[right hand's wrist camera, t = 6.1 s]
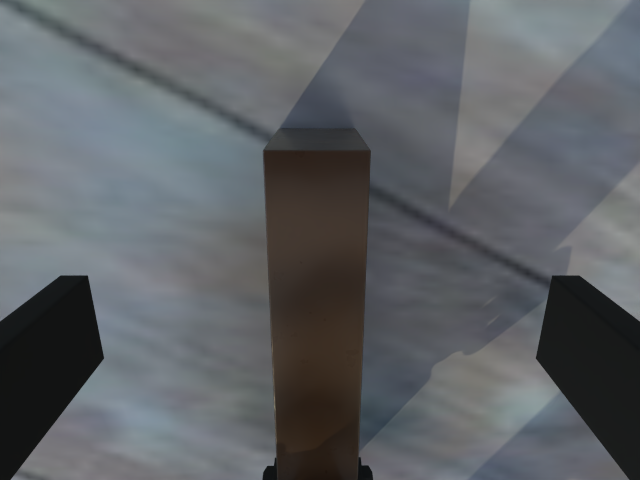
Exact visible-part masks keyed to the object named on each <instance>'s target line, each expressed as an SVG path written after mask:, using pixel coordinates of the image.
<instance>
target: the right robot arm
mask: <svg viewBox="0 0 640 480" xmlns="http://www.w3.org/2000/svg"><path fill="white" fill-rule="evenodd" d="M103 359H104V356H103V351H102V346H101V340H100V335H99V330H98V325H97V320H96V315H95V310H94V305H93V300H92V295H91V290H90V284H89V279H88V276H60V277H58V278H57V279H56V280H54V281H53V282H52V283H50V284H49V285H48V286H46V287H45V288H44V289H42V290H41V291H40V292H38V293H37V294H36V295H35V296H33V297H32V298H31V299H29V300H28V301H27V302H25V303H24V304H23V305H21V306H20V307H19V308H17V309H16V310H15V311H14V312H12V313H11V314H10V315H8V316H7V317H6V318H4V319H3V320H2V321H0V480H11V478H12V477H13V476H14V474H15V473H16V472H17V471H18V469H19V468H20V467H21V465H22V464H23V463H24V462H25V460H26V459H27V458H28V456H29V455H30V454H31V452H32V451H33V450H34V449H35V447H36V446H37V445H38V443H39V442H40V441H41V439H42V438H43V437H44V436H45V434H46V433H47V432H48V430H49V429H50V428H51V426H52V425H53V424H54V423H55V421H56V420H57V419H58V417H59V416H60V415H61V414H62V412H63V411H64V410H65V408H66V407H67V406H68V404H69V403H70V402H71V401H72V399H73V398H74V397H75V395H76V394H77V393H78V391H79V390H80V389H81V388H82V386H83V385H84V384H85V382H86V381H87V380H88V379H89V377H90V376H91V375H92V373H93V372H94V371H95V369H96V368H97V367H98V366H99V364H100V363H101V362H102V360H103ZM536 359H537V360H538V362H539V363H540V364H541V366H542V367H543V368H544V369H545V371H546V372H547V373H548V375H549V376H550V377H551V379H552V380H553V381H554V382H555V384H556V385H557V386H558V388H559V389H560V390H561V391H562V393H563V394H564V395H565V397H566V398H567V399H568V401H569V402H570V403H571V404H572V406H573V407H574V408H575V410H576V411H577V412H578V414H579V415H580V416H581V417H582V419H583V420H584V421H585V423H586V424H587V425H588V426H589V428H590V429H591V430H592V432H593V433H594V434H595V436H596V437H597V438H598V439H599V441H600V442H601V443H602V445H603V446H604V447H605V449H606V450H607V451H608V452H609V454H610V455H611V456H612V458H613V459H614V460H615V462H616V463H617V464H618V465H619V467H620V468H621V469H622V471H623V472H624V473H625V474H626V476H627V477H628V478H629V480H640V321H638V320H637V319H636V318H634V317H633V316H632V315H630V314H629V313H628V312H626V311H625V310H624V309H623V308H621V307H620V306H619V305H617V304H616V303H615V302H613V301H612V300H611V299H609V298H608V297H607V296H605V295H604V294H603V293H602V292H600V291H599V290H598V289H596V288H595V287H594V286H592V285H591V284H590V283H588V282H587V281H586V280H584V279H583V278H582V277H580V276H552V279H551V284H550V290H549V295H548V300H547V305H546V310H545V315H544V320H543V325H542V330H541V335H540V340H539V346H538V351H537V356H536Z"/></svg>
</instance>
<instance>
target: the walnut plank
mask: <svg viewBox="0 0 640 480" xmlns="http://www.w3.org/2000/svg"><path fill="white" fill-rule="evenodd" d="M370 155H371V151H370V149H369V148H368V146H367V145H366V143H365V142H364V140H363V139H362V137H361V136H360V135H359V133H358V132H357V130H356V129H279V130H278V131H277V132H276V134H275V135H274V136H273V138H272V139H271V140H270V142H269V143H268V144H267V146H266V147H265V149H264V150H263V164H264V186H265V209H266V231H267V254H268V277H269V299H270V322H271V344H272V367H273V390H274V412H275V435H276V457H277V480H358V458H359V433H360V408H361V383H362V357H363V332H364V307H365V282H366V256H367V231H368V206H369V181H370Z"/></svg>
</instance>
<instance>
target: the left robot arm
mask: <svg viewBox="0 0 640 480" xmlns="http://www.w3.org/2000/svg"><path fill="white" fill-rule="evenodd" d="M263 480H277V458H275V462H274V466H267V467H266V469H265V471H264V472H263ZM358 480H373V475H372V471H371V469H370V468H369V466H362V465H361V458H360V457H359V458H358Z"/></svg>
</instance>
